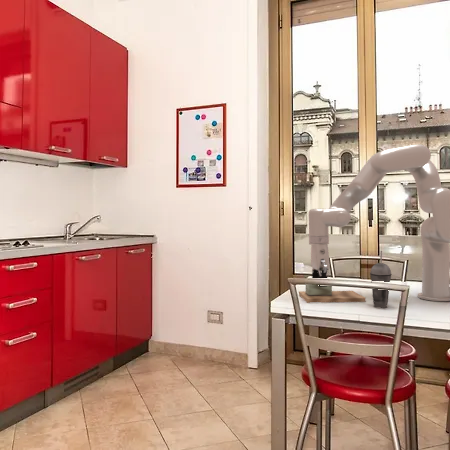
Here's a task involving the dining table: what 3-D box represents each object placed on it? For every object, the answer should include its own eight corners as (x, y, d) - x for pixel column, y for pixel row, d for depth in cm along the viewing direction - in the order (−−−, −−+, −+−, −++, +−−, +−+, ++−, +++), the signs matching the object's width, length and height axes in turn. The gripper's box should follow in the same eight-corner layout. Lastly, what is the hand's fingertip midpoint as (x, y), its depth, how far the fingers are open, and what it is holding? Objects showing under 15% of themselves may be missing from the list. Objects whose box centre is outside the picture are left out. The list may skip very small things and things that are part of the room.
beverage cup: (389, 304, 152) (390, 249, 151) (393, 309, 145) (393, 251, 144) (368, 303, 154) (368, 249, 153) (370, 308, 147) (371, 251, 146)
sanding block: (328, 293, 166) (328, 278, 166) (331, 295, 161) (331, 280, 161) (305, 293, 166) (305, 278, 166) (308, 296, 161) (308, 280, 161)
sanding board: (352, 294, 171) (352, 290, 171) (365, 301, 157) (365, 297, 157) (299, 295, 170) (299, 291, 170) (307, 302, 156) (307, 298, 156)
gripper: (335, 241, 154) (336, 288, 155) (322, 238, 172) (323, 280, 172) (314, 242, 154) (315, 288, 155) (304, 239, 171) (304, 281, 172)
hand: (319, 284), depth 163 cm, fingers open, 9 cm apart
